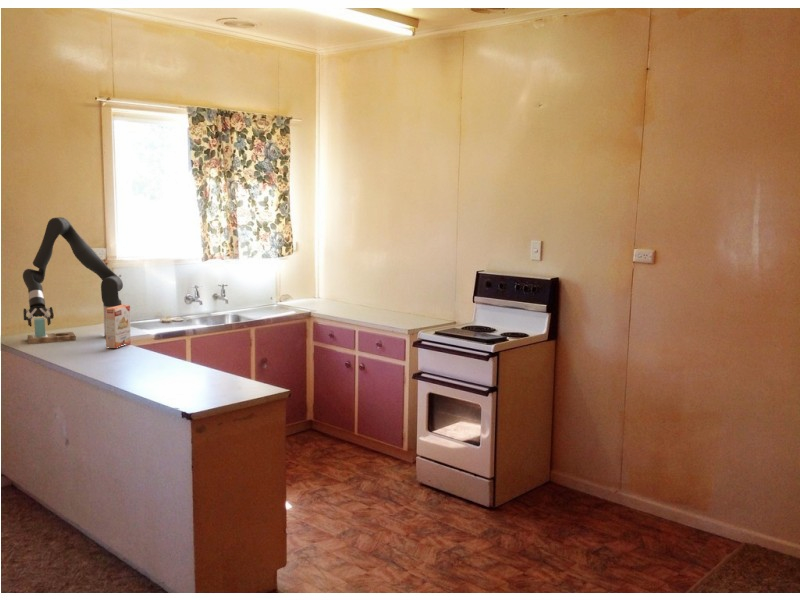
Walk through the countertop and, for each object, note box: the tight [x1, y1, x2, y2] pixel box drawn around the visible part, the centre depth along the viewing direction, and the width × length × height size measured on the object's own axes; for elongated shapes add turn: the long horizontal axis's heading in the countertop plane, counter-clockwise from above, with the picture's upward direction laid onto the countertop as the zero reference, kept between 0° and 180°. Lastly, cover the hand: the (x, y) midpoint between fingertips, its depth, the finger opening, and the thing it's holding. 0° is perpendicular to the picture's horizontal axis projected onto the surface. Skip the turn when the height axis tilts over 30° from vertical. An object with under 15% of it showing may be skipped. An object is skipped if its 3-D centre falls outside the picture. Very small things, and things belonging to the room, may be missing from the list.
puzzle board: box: [27, 331, 77, 345], centre depth 386 cm, size 22×12×3 cm, turn 121°
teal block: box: [33, 317, 46, 337], centre depth 382 cm, size 4×4×9 cm
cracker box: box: [105, 304, 132, 349], centre depth 376 cm, size 14×6×21 cm, turn 168°
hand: (39, 325), depth 381 cm, fingers open, 8 cm apart
